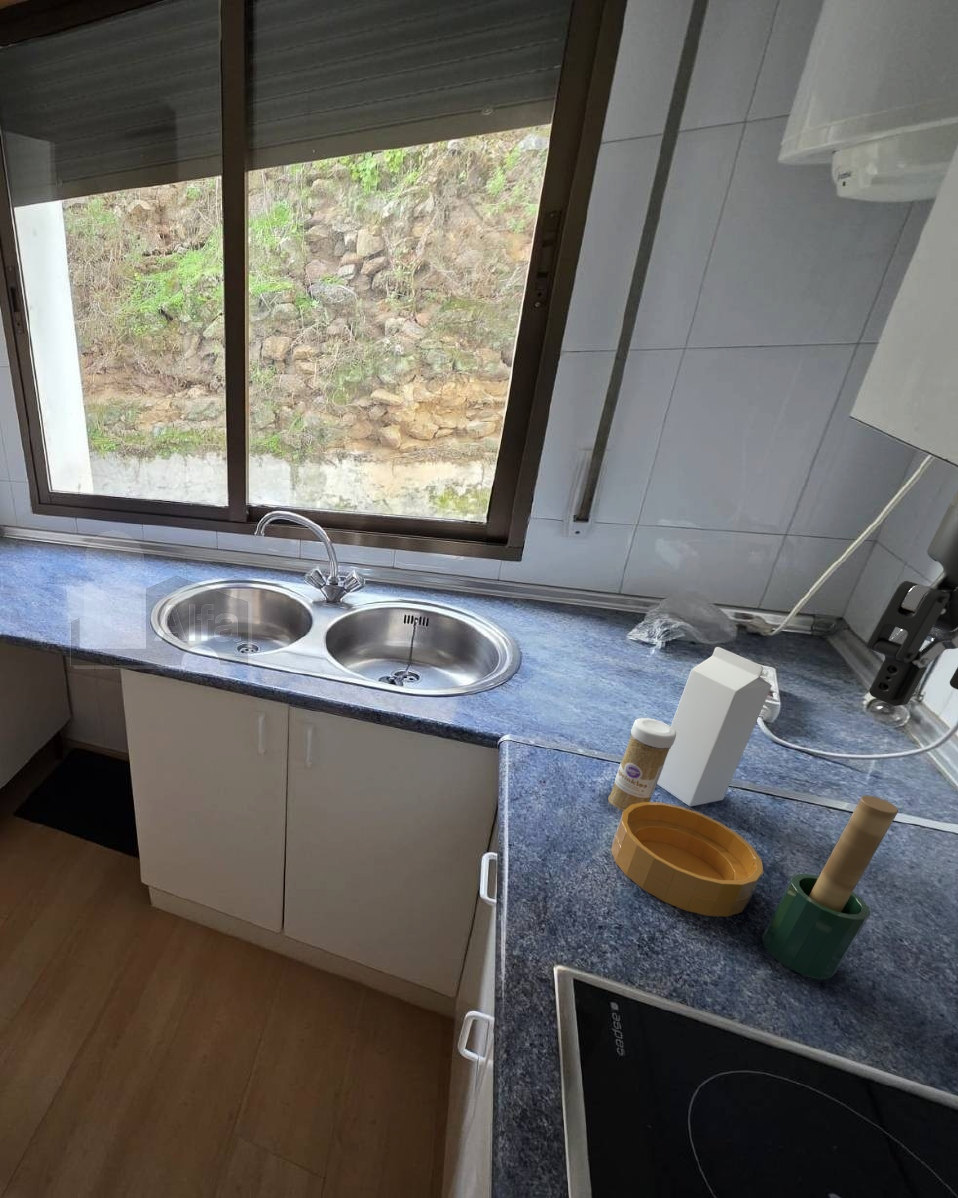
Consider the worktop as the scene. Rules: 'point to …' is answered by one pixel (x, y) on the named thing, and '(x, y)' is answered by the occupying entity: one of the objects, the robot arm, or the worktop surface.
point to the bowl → (686, 858)
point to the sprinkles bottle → (642, 762)
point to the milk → (713, 727)
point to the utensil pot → (812, 930)
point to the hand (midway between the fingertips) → (927, 696)
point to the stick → (853, 852)
